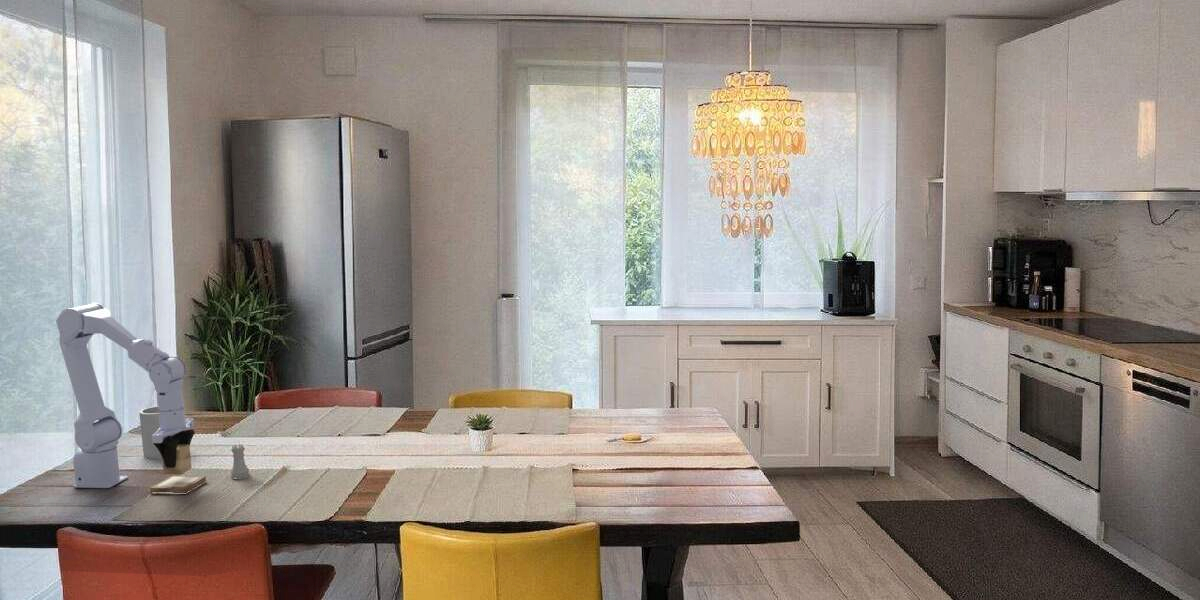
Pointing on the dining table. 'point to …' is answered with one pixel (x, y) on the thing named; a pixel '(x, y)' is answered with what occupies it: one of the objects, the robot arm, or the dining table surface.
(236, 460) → the rook chess piece
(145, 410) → the cup
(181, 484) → the picture frame
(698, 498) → the dining table surface
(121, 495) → the dining table surface
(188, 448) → the oak block
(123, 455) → the dining table surface
